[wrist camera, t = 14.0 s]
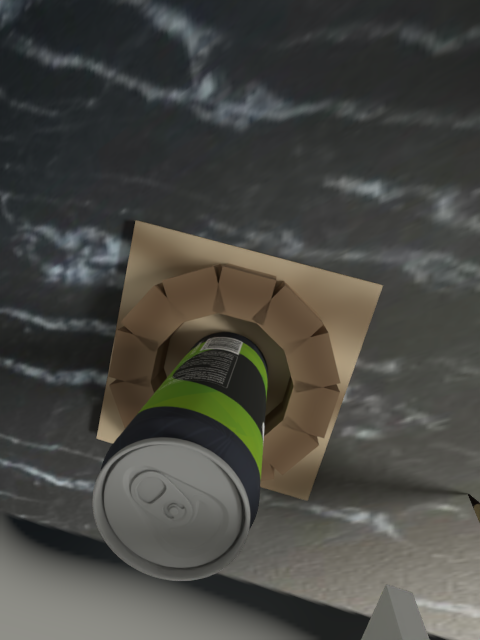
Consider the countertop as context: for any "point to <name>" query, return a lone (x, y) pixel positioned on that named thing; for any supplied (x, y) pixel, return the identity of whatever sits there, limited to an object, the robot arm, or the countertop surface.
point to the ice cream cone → (475, 506)
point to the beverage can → (189, 465)
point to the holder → (249, 321)
